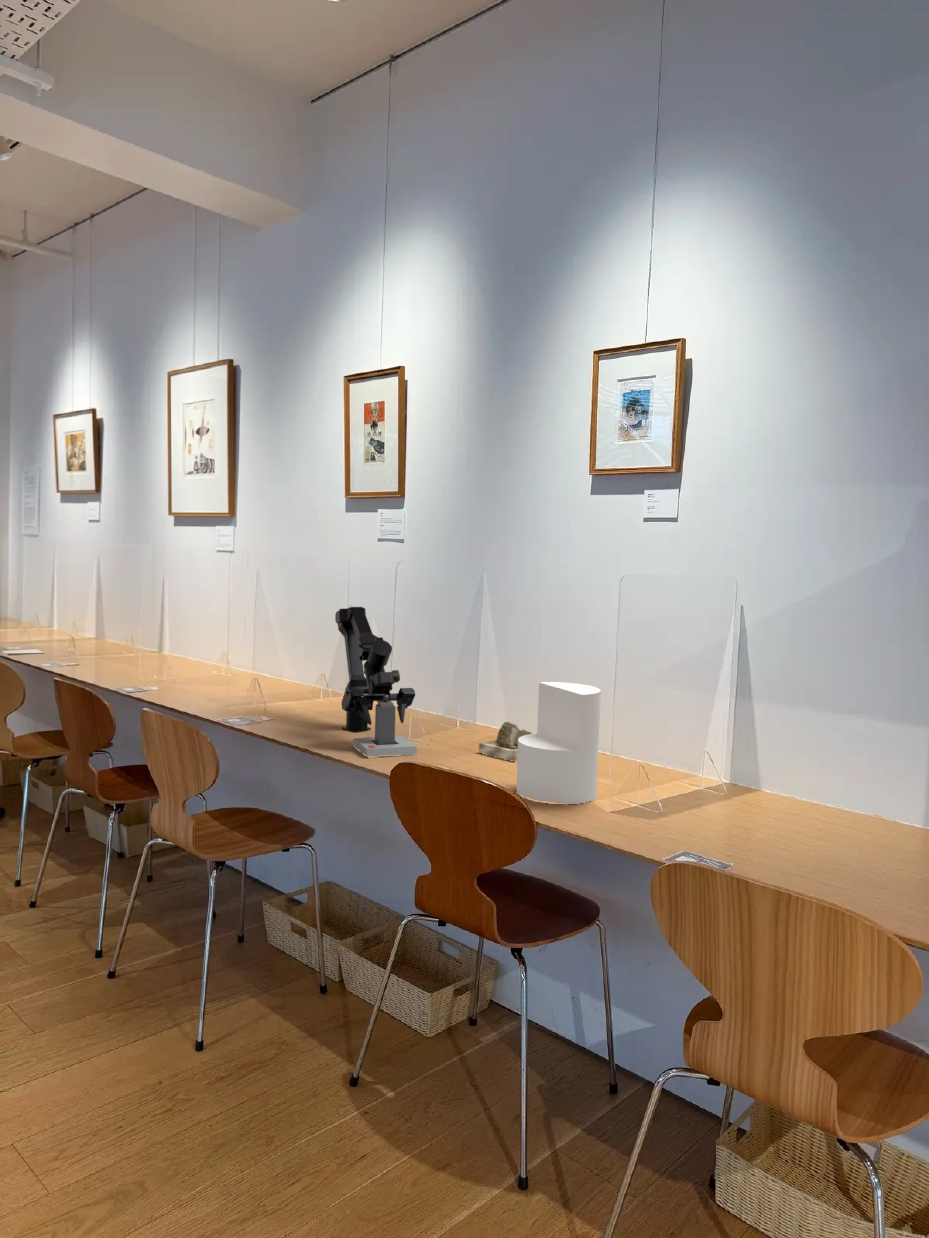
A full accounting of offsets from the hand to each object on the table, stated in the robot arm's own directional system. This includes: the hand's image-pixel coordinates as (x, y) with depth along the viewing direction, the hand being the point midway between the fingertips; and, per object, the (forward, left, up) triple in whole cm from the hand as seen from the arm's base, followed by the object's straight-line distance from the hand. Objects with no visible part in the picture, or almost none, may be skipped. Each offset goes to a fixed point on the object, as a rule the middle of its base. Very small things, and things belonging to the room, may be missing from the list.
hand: (386, 723), depth 249 cm
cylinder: (+57, +4, -8) cm, 57 cm away
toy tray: (+24, +30, -8) cm, 39 cm away
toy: (+24, +29, -8) cm, 39 cm away
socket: (-1, +1, -8) cm, 8 cm away
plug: (-1, +1, -7) cm, 7 cm away
